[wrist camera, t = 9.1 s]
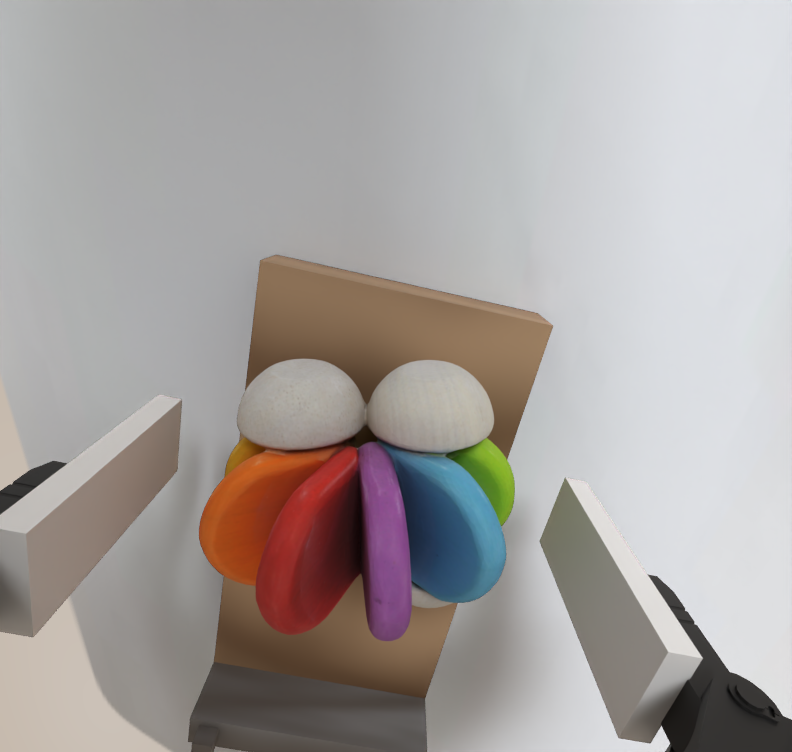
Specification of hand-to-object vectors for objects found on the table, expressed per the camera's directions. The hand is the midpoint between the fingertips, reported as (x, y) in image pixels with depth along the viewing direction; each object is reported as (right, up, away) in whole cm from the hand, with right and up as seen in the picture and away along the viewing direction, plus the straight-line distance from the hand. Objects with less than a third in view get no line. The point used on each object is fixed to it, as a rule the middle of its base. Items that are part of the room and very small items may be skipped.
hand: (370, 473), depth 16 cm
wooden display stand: (-1, -2, +5) cm, 6 cm away
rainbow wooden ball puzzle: (0, 0, +2) cm, 2 cm away
